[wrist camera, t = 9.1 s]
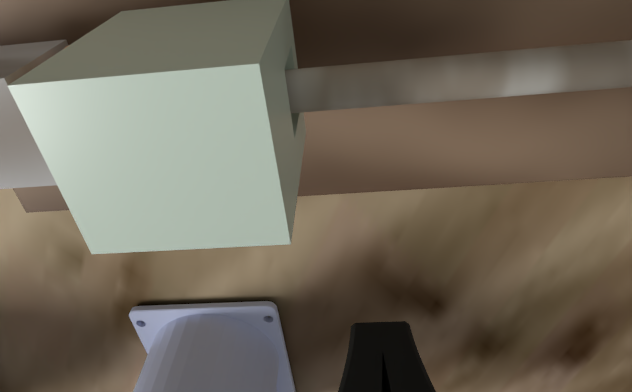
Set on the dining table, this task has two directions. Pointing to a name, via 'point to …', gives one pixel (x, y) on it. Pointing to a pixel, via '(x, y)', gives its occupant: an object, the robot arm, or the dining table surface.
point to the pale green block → (173, 127)
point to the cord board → (397, 90)
